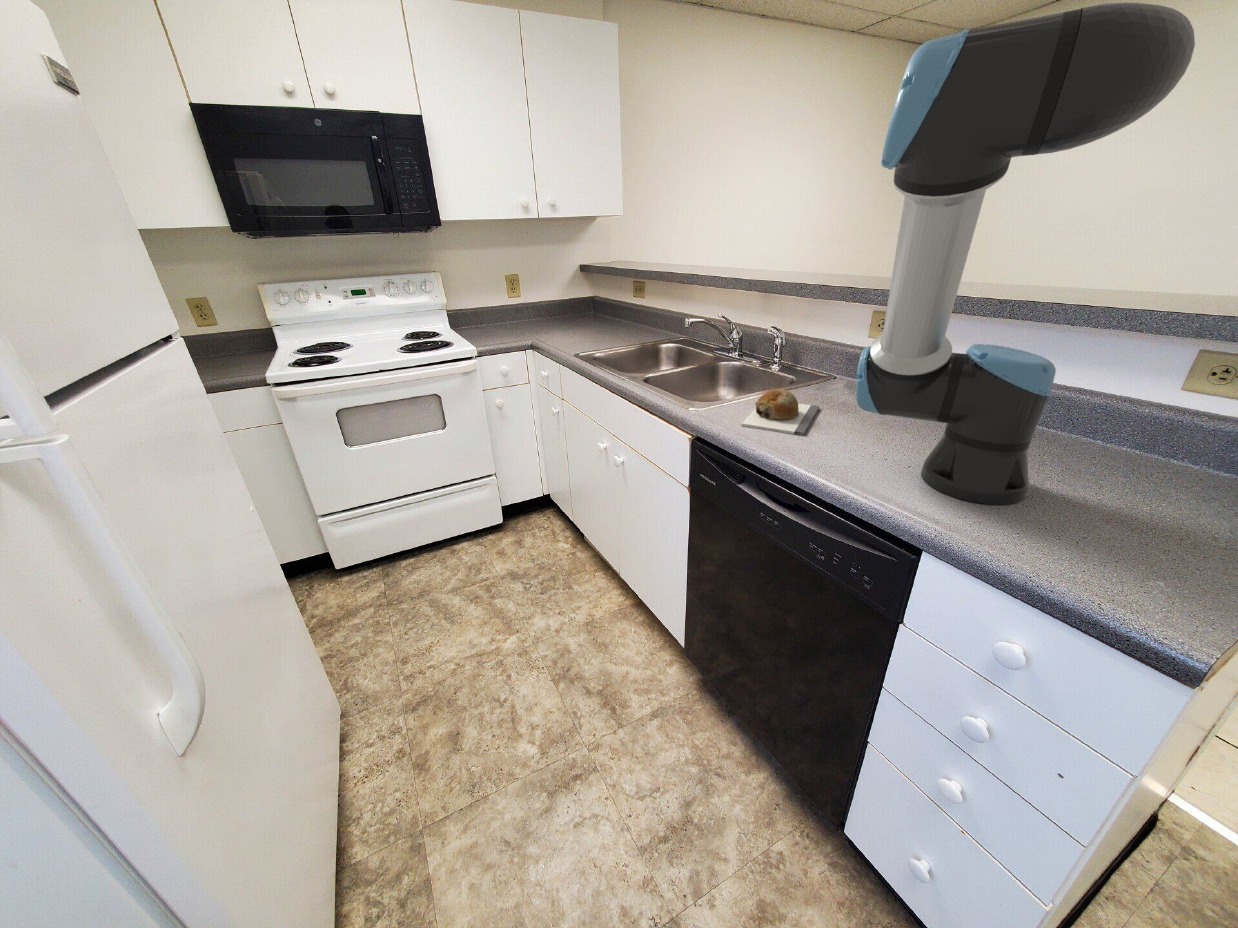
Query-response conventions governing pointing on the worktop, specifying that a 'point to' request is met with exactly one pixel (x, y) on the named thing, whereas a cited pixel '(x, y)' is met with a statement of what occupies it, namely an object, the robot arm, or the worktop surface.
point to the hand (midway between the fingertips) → (934, 276)
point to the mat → (784, 421)
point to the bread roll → (777, 405)
